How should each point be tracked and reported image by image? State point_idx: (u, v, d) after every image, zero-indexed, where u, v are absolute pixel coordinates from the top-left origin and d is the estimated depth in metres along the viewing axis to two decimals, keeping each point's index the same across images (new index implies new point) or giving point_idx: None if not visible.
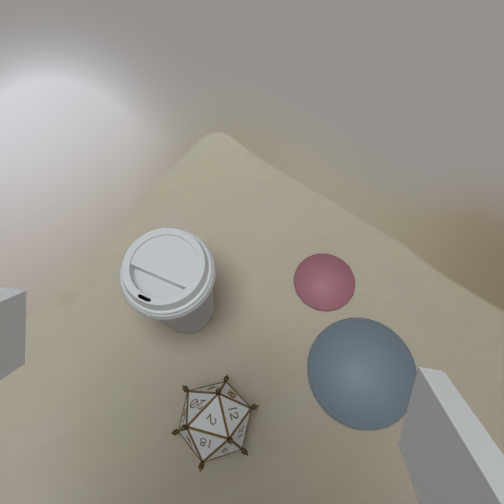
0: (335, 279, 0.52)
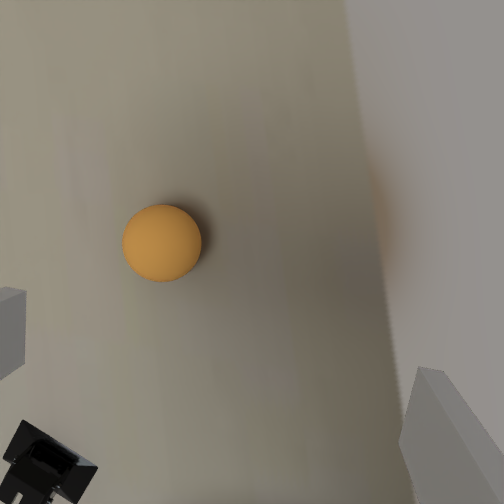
0: None
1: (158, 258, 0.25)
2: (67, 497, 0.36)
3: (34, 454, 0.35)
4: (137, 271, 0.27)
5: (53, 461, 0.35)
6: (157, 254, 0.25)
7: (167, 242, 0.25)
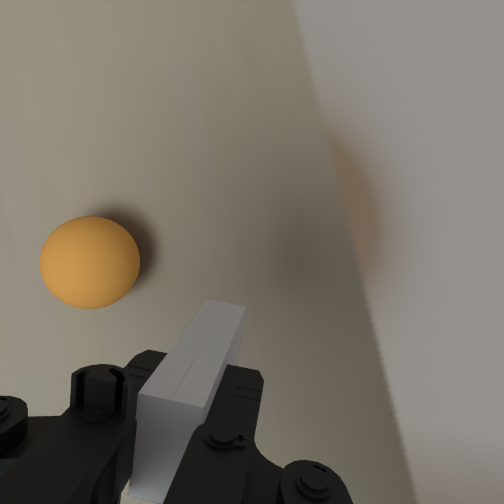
0: None
1: (79, 283, 0.21)
2: None
3: None
4: (60, 299, 0.22)
5: None
6: (77, 278, 0.21)
7: (88, 263, 0.21)
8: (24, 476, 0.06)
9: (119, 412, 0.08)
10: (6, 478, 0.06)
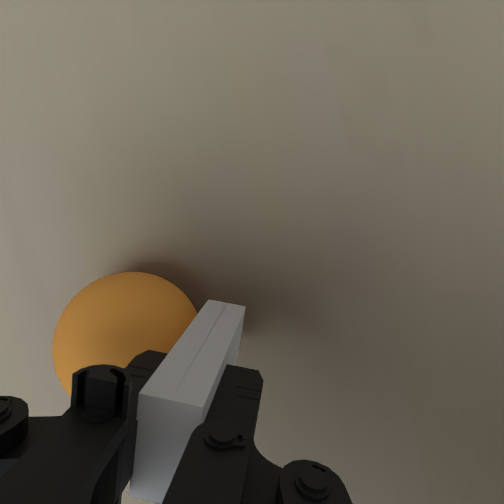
0: None
1: None
2: None
3: None
4: None
5: None
6: None
7: (87, 351, 0.13)
8: (25, 476, 0.06)
9: (119, 412, 0.08)
10: (7, 478, 0.06)
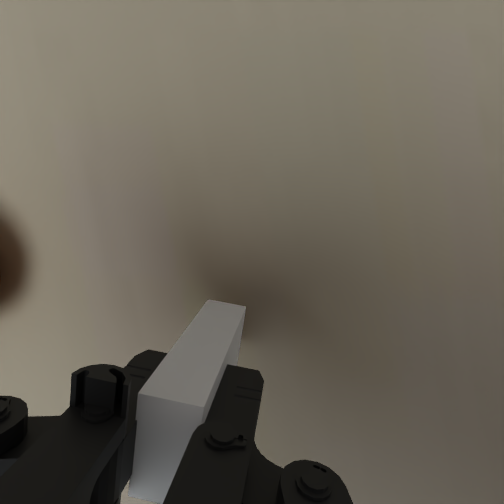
0: None
1: None
2: None
3: None
4: None
5: None
6: None
7: None
8: (24, 476, 0.06)
9: (119, 412, 0.08)
10: (6, 478, 0.06)
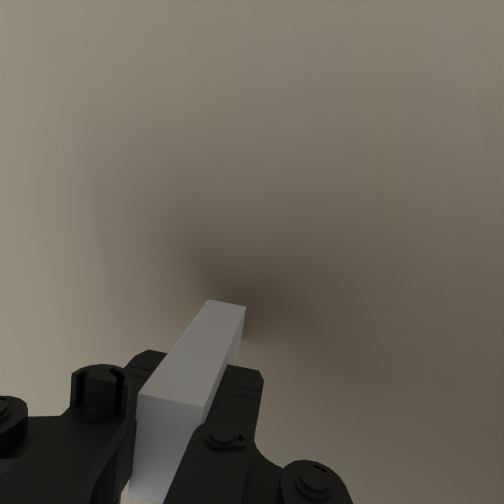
0: None
1: None
2: None
3: None
4: None
5: None
6: None
7: None
8: (24, 476, 0.06)
9: (119, 412, 0.08)
10: (6, 478, 0.06)
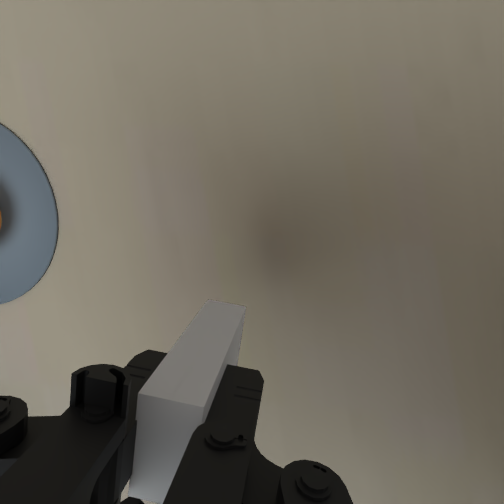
0: None
1: None
2: None
3: None
4: None
5: None
6: None
7: None
8: (24, 476, 0.06)
9: (119, 412, 0.08)
10: (6, 478, 0.06)
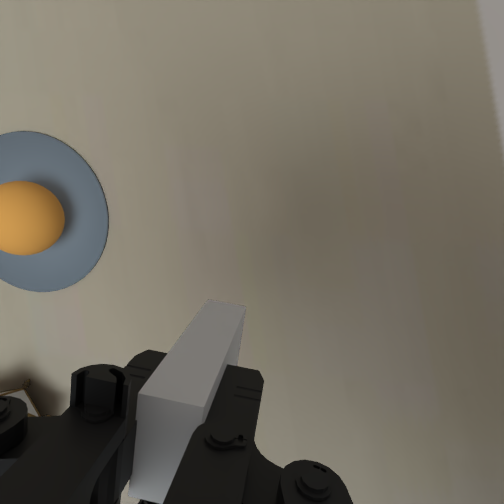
0: None
1: None
2: None
3: None
4: None
5: None
6: None
7: None
8: (24, 476, 0.06)
9: (119, 412, 0.08)
10: (6, 478, 0.06)
